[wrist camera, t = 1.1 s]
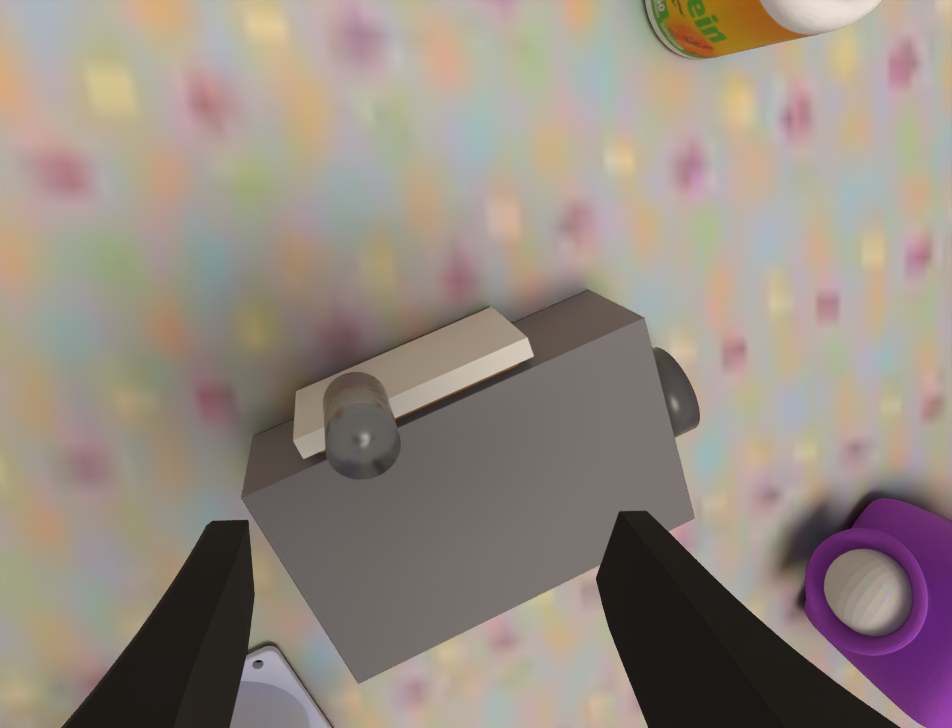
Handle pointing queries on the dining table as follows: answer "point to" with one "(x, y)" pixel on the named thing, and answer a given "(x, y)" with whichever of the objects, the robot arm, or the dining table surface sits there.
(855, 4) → the supplement bottle
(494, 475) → the camera housing
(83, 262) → the dining table surface
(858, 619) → the toy camera
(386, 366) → the side door
